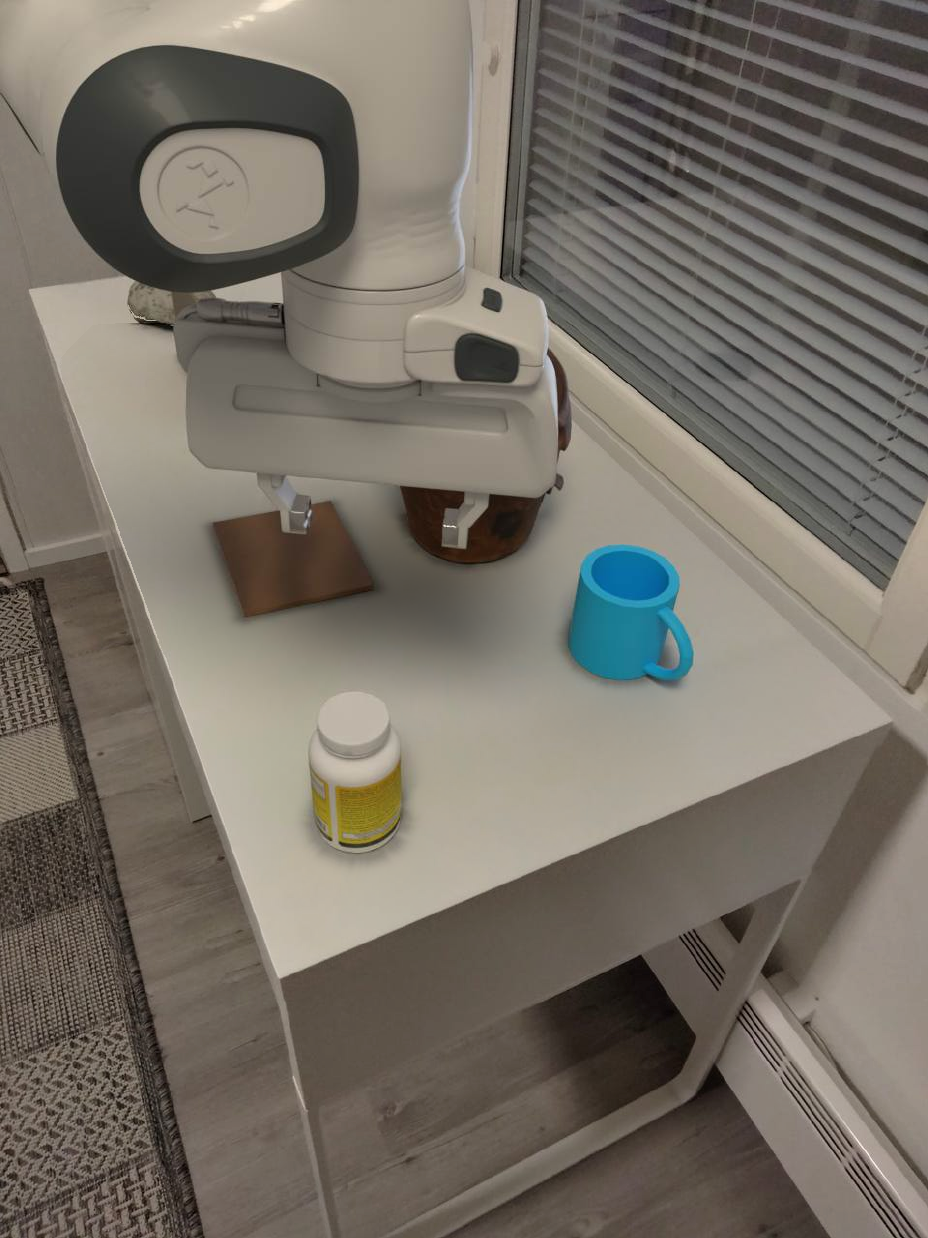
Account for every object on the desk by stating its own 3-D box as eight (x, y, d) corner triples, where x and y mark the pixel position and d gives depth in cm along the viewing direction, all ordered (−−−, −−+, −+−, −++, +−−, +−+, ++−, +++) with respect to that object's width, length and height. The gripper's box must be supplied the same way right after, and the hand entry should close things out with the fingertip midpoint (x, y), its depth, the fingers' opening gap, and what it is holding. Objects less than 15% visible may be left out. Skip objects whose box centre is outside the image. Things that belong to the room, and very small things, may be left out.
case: (419, 609, 85) (423, 436, 73) (354, 488, 99) (349, 326, 87) (594, 570, 91) (625, 403, 79) (510, 461, 104) (525, 304, 92)
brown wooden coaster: (244, 617, 83) (243, 612, 83) (213, 527, 93) (212, 522, 92) (373, 589, 87) (373, 584, 87) (331, 505, 96) (331, 500, 96)
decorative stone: (224, 301, 131) (220, 265, 127) (213, 336, 123) (208, 299, 119) (134, 299, 130) (127, 263, 127) (117, 334, 122) (109, 296, 119)
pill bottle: (416, 804, 69) (418, 701, 62) (375, 869, 65) (372, 767, 58) (342, 773, 71) (336, 670, 64) (298, 835, 67) (286, 732, 59)
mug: (549, 637, 83) (560, 565, 78) (615, 604, 87) (630, 533, 82) (645, 722, 76) (664, 649, 71) (713, 681, 80) (736, 610, 75)
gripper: (146, 321, 45) (187, 551, 54) (575, 358, 44) (543, 584, 54) (186, 269, 50) (217, 489, 59) (574, 303, 49) (545, 519, 58)
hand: (376, 535), depth 56 cm, fingers open, 8 cm apart
